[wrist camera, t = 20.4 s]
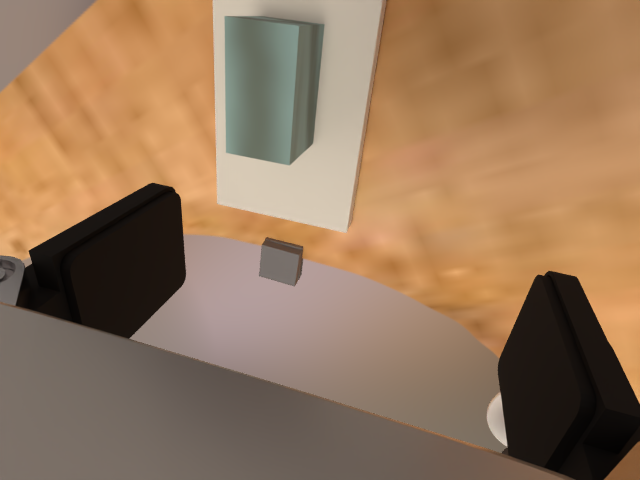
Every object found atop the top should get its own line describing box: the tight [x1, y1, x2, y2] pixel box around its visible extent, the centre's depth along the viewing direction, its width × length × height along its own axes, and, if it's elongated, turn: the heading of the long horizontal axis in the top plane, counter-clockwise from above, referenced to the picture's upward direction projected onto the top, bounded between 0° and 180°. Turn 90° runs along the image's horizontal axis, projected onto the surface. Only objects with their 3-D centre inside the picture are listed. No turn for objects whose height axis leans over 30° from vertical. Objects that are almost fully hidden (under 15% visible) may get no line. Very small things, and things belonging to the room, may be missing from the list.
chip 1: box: [265, 238, 303, 280], centre depth 44 cm, size 4×4×1 cm
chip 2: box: [259, 240, 302, 286], centre depth 43 cm, size 4×4×1 cm
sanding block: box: [225, 16, 325, 165], centre depth 31 cm, size 5×9×6 cm, turn 173°
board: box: [213, 0, 387, 233], centre depth 34 cm, size 13×24×2 cm, turn 173°
